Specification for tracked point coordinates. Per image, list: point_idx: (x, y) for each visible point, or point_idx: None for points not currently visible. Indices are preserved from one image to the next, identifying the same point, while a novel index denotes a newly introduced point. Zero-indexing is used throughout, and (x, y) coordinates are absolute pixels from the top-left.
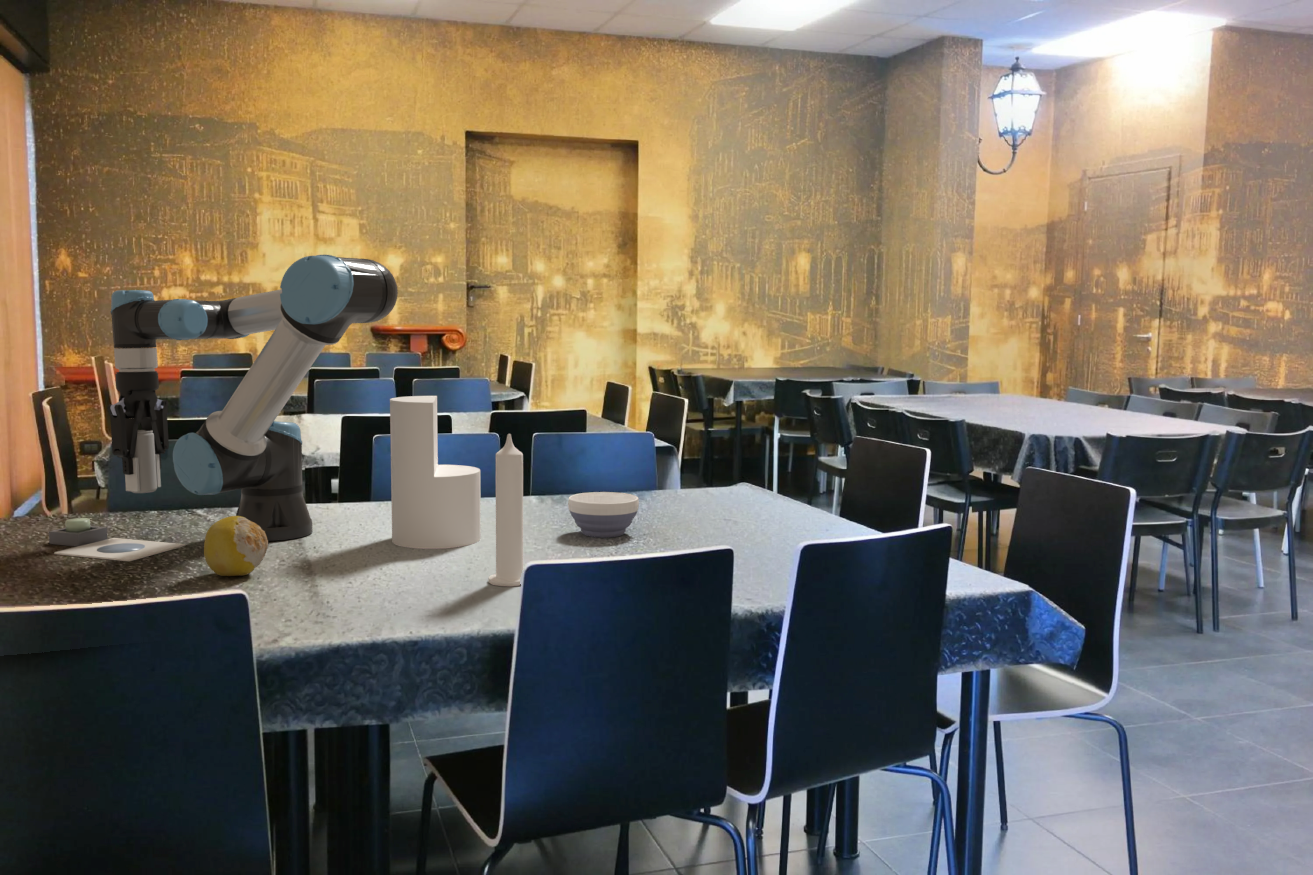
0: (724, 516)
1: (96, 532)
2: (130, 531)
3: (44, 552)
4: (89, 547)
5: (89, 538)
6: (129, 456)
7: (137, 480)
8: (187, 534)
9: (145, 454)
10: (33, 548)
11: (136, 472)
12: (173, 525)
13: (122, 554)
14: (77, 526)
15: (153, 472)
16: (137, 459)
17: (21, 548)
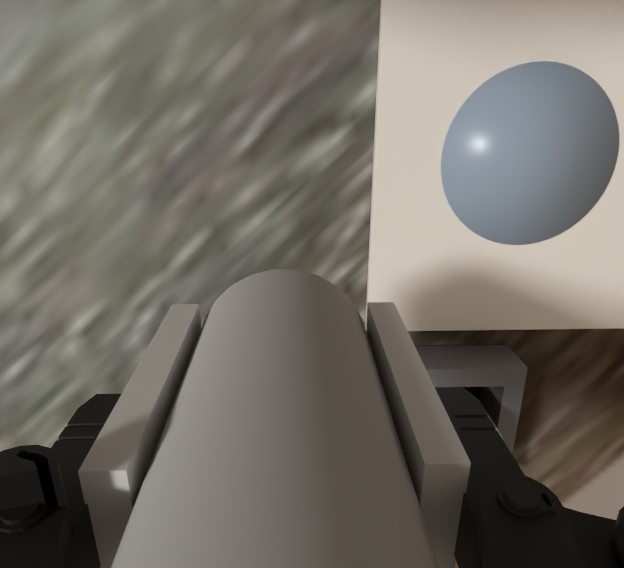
0: None
1: (434, 363)
2: None
3: (610, 373)
4: (540, 281)
5: (462, 355)
6: (546, 497)
7: (399, 337)
8: (171, 125)
9: (355, 453)
10: (560, 444)
11: (420, 371)
12: (56, 319)
13: None
14: (488, 417)
15: (269, 320)
16: (434, 448)
17: (566, 473)
